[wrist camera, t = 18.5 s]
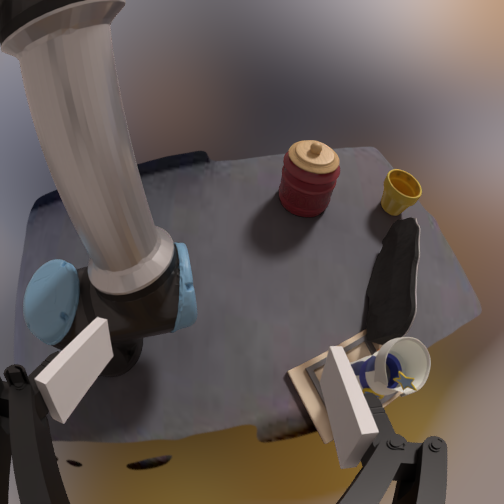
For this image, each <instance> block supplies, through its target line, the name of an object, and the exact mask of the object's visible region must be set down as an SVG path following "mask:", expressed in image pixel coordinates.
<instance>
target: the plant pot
mask: <svg viewBox="0 0 504 504" xmlns="http://www.w3.org/2000/svg"><path fill="white" fill-rule="evenodd" d="M421 194H422V189H421V186H420V184H419V182H418V181H417V180H416V179H415V178H414V177H413V176H412V175H411V174H409V173H407V172H405V171H403V170H399V169H394V170H391V171H390V172H389V173H388V174H387V176H386V178H385V181H384V191H383V195H382V199H381V206H382V208H383V209H384V210H385V211H386V212H387V213H388V214H390V215H394V216H397V215H399V214H401V213H402V212H403V211H404V210H405V209H406V208H408V207H409V206H412V205H414V204H415V203H416V202H417V200H418V199H419V198H420V196H421Z"/></svg>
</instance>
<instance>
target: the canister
mask: <svg viewBox="0 0 504 504" xmlns="http://www.w3.org/2000/svg"><path fill="white" fill-rule="evenodd" d="M283 162H284V166H283V168H282V178H281V183H280V186H279V199H280V202H281V204H282V205H283V207H284V208H285V209H286V210H288V211H289V212H291V213H293V214H295V215H297V216H301V217H314V216H317V215H319V214H321V213H322V212H324V210H325V209H326V208H327V206H328V204H329V202H330V197H331V194H332V192H333V189H334V187H335V185H336V179H337V178H338V177H339V175H340V166H339V158H338V156H337V154H336V153H335V152H334V151H333V150H332V149H331V148H330V147H328V146H327V145H325V144H323V143H321V142H318V141H312V140H308V141H299V142H297V143H295V144H293V145H292V146H291V147H290V149H289V151H288V152H287V153H286V154H285V156H284V161H283Z"/></svg>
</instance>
